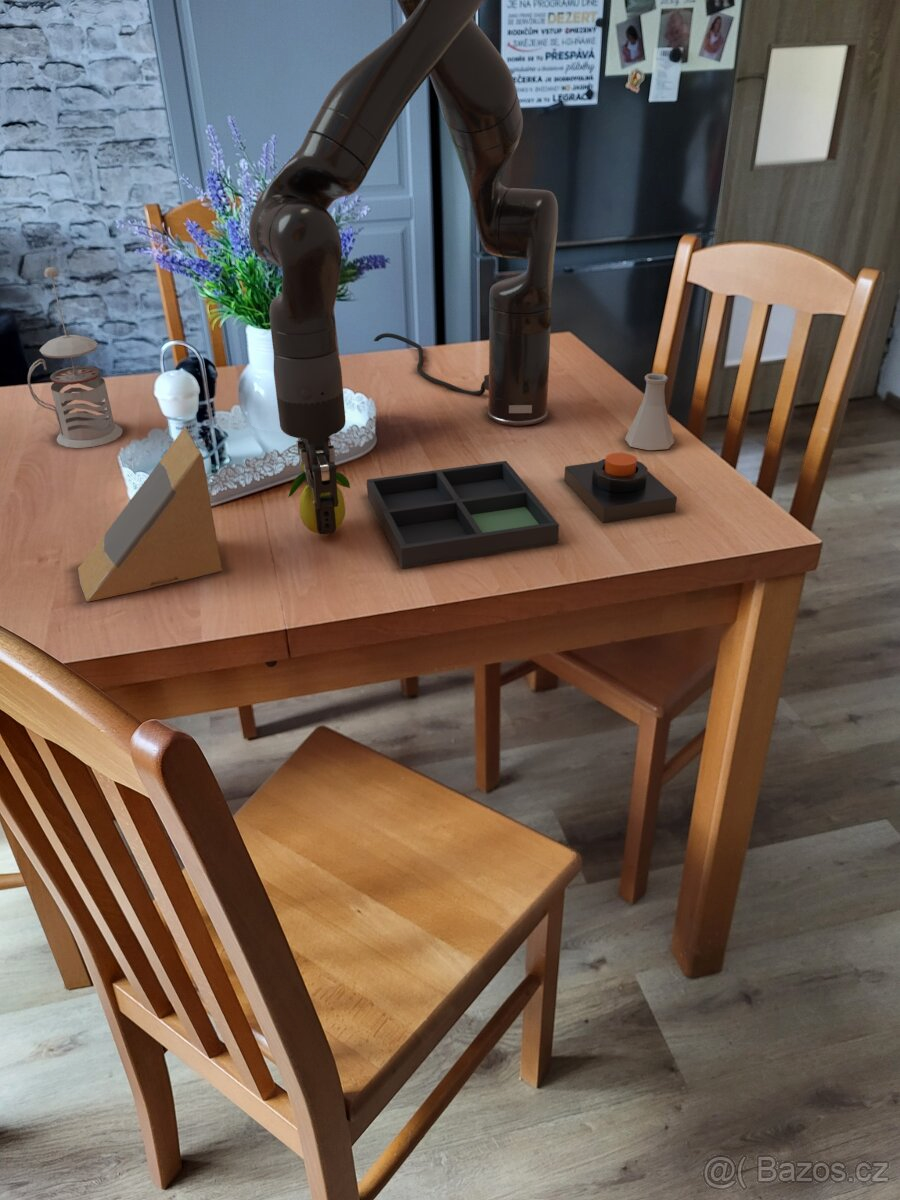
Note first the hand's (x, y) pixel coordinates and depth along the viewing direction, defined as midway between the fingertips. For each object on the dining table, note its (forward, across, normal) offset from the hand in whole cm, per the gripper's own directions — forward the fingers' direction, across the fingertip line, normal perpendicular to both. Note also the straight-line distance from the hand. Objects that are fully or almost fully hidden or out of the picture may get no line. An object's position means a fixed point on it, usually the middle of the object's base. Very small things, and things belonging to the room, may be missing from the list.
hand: (322, 520), depth 115 cm
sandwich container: (+2, -2, +21) cm, 21 cm away
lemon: (+2, 0, 0) cm, 2 cm away
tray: (+2, -1, -17) cm, 17 cm away
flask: (+2, +14, -51) cm, 53 cm away
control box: (+2, -1, -39) cm, 39 cm away
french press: (+2, +43, +30) cm, 52 cm away
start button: (-2, -1, -39) cm, 39 cm away
